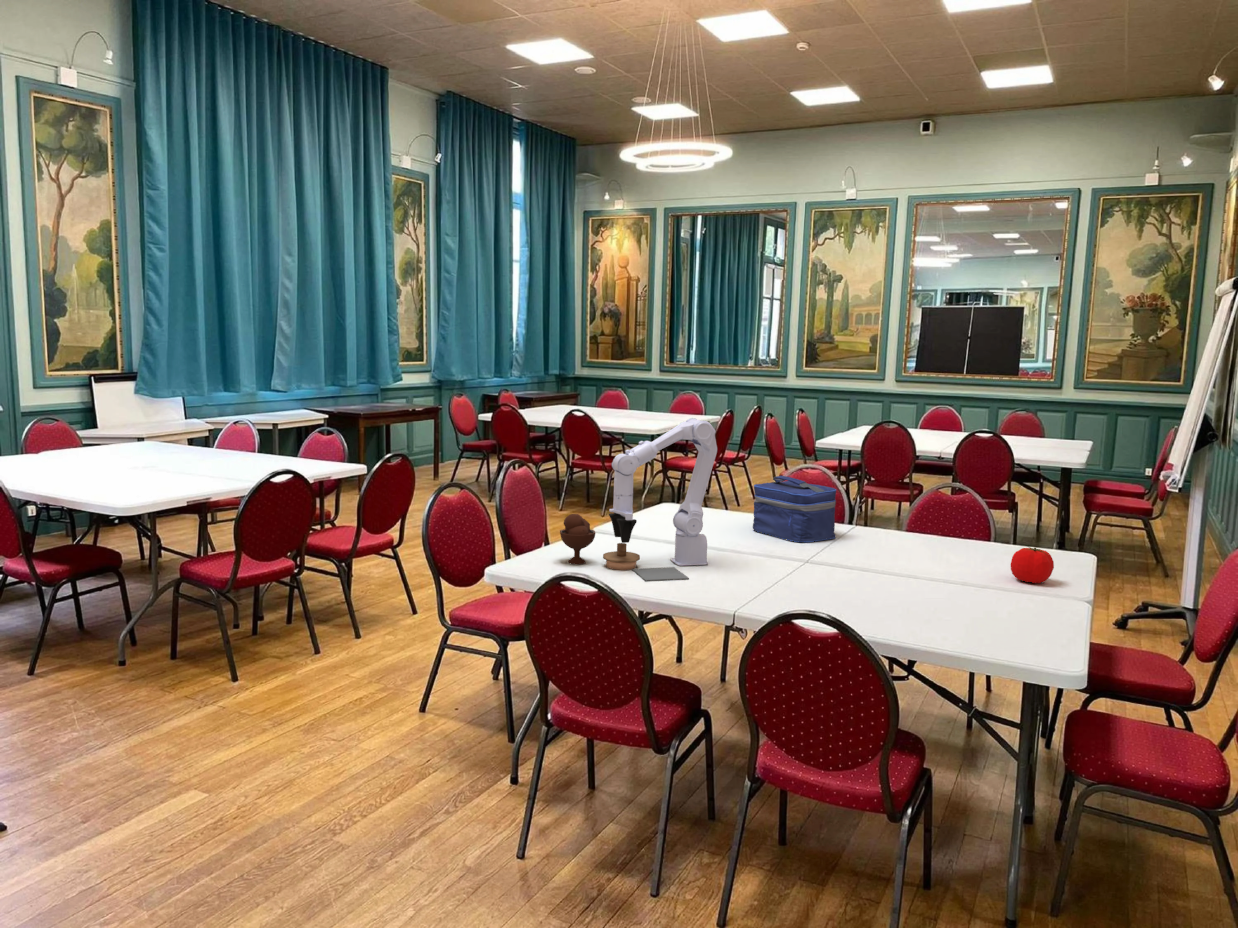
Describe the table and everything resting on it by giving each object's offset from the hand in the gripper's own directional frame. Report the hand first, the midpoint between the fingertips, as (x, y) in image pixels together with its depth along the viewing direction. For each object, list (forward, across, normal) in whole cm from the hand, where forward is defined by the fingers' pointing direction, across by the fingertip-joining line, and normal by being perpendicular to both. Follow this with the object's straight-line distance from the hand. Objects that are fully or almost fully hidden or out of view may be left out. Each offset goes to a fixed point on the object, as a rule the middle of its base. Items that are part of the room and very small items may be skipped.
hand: (621, 539), depth 272 cm
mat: (+8, +12, +9) cm, 16 cm away
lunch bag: (+8, -36, +74) cm, 83 cm away
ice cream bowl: (+8, -7, -12) cm, 16 cm away
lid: (+6, 0, 0) cm, 6 cm away
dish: (+8, 0, 0) cm, 8 cm away
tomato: (+8, +37, +115) cm, 121 cm away
